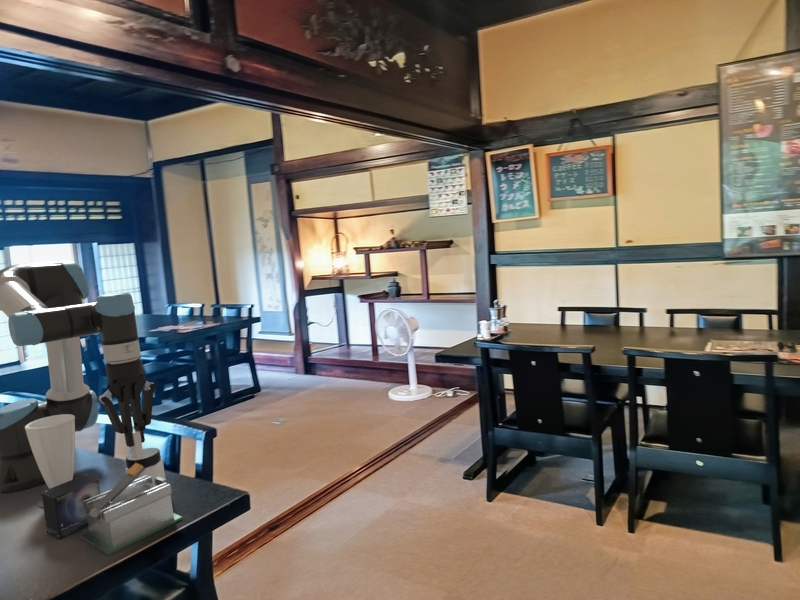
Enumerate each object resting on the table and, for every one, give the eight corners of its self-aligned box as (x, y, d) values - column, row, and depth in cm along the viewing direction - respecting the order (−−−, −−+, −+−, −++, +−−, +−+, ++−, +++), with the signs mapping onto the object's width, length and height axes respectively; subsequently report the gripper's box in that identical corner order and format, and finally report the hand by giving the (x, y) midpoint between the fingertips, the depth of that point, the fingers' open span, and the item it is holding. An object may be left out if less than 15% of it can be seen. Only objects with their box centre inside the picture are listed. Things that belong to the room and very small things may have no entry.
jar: (132, 508, 136) (125, 463, 135) (128, 497, 143) (121, 454, 141) (170, 497, 141) (164, 453, 139) (164, 486, 148) (158, 444, 146)
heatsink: (81, 537, 124) (75, 501, 123) (152, 505, 137) (147, 472, 136) (109, 555, 115) (102, 517, 114) (182, 519, 128) (177, 484, 127)
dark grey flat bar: (97, 521, 118) (91, 516, 117) (88, 516, 121) (83, 511, 120) (148, 471, 127) (143, 465, 126) (139, 467, 129) (134, 462, 129)
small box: (60, 540, 123) (53, 497, 122) (46, 534, 127) (38, 492, 126) (105, 518, 132) (99, 477, 131) (91, 513, 136) (85, 473, 135)
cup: (93, 494, 146) (81, 418, 144) (44, 512, 138) (30, 431, 136) (79, 484, 154) (67, 411, 152) (32, 500, 146) (19, 423, 143)
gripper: (101, 368, 117) (117, 471, 120) (158, 354, 127) (172, 450, 130) (86, 365, 122) (102, 465, 124) (143, 352, 132) (156, 445, 134)
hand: (137, 457), depth 127 cm, fingers closed
